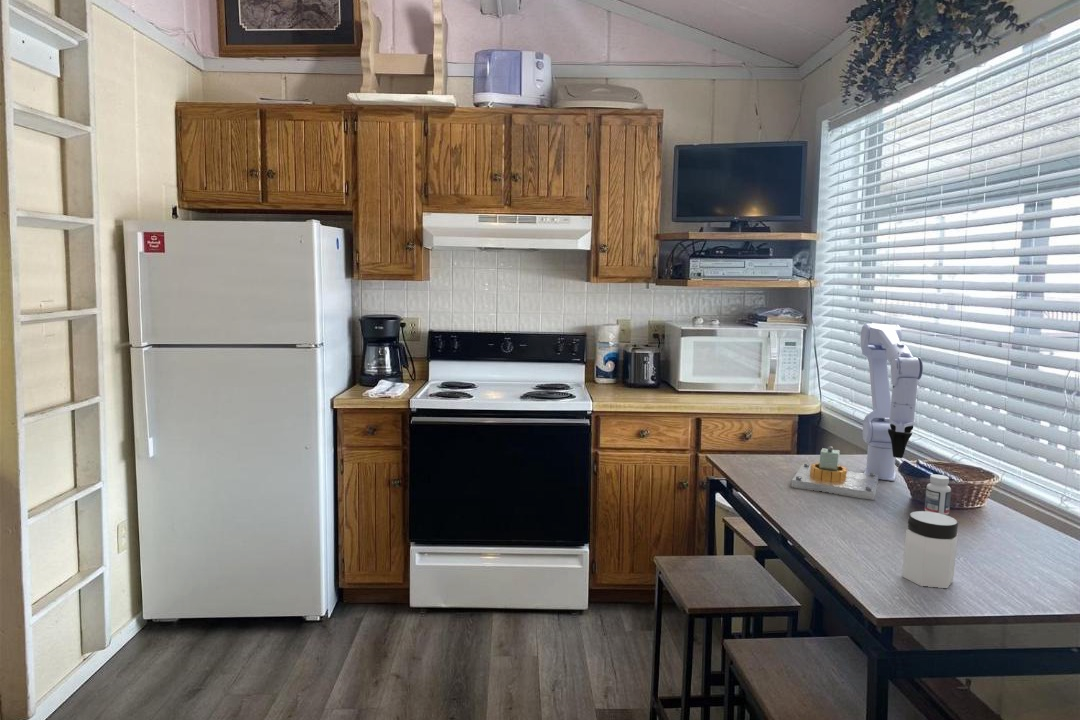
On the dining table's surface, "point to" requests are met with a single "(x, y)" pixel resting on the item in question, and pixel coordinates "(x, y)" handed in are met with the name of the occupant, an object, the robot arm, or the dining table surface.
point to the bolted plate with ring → (836, 481)
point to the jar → (930, 549)
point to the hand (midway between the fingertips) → (898, 454)
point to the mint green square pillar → (829, 459)
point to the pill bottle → (938, 495)
